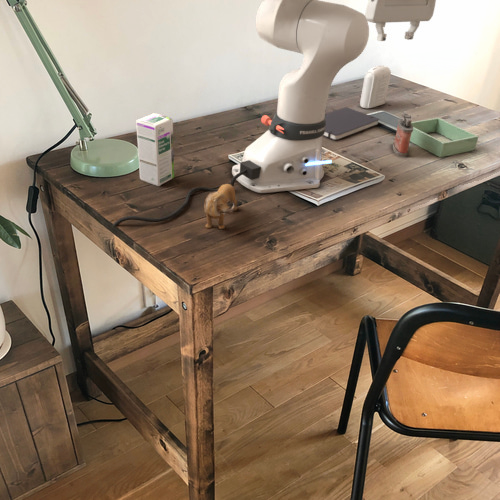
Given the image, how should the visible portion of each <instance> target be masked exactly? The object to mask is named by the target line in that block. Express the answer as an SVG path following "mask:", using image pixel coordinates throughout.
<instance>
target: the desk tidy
mask: <svg viewBox="0 0 500 500" xmlns="http://www.w3.org/2000/svg"><path fill="white" fill-rule="evenodd" d="M411 124H412V126H413V132H412V133H411V138H410V142H411V143H413V144H414V145H416V146H417V147H419V148H421V149H424V150H426V151H427V152H429V153H431V154H433V155H434V156H437V157H438V158H444V157H448V156H453V155H458V154H462V153H463V154H464V153H467V152H472V151H475V150H476V147H477V144H478V140H479V136H478V135H477V134H474V133H472V132H470V131H468V130H466V129H464V128H462V127H459V126H457V125H455V124H453V123H451V122H449V121H447V120H445V119H443V118H441V117H434V118H428V119H421V120H416V121H411ZM434 132H435V133H437V134H439V135H441V136H443V137H445V138H447V139H449V140H450V141H449V140H448V141H442V140H440V139H438V138H436V137H434V136H432V135H430V134H428V133H434ZM410 142H409V143H410Z"/></svg>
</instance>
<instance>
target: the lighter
mask: <svg viewBox="0 0 500 500" xmlns="http://www.w3.org/2000/svg"><path fill="white" fill-rule="evenodd" d="M401 117H402V118H398V119H397V127H396V132H395V135H394V141H393V143H392V150H393V152H394V153H395V154H396V156H397V157H401V158H406V157H408V155H409V146H410V138H411V133H412V132H413V126H412V124H411V122H413V120H412V115H410V114H409V113H408V112H407V111H402V114H401Z"/></svg>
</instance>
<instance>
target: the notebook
mask: <svg viewBox="0 0 500 500" xmlns="http://www.w3.org/2000/svg"><path fill="white" fill-rule="evenodd" d="M325 117H326V127H325V133H324V135H323V137H325V138H328V139H330V140H333V141H338V140H341V139H344V138H346V137H349V136H352V135H354V134H357V133H360V132H362V131H365V130H367V129H371V128H373V127H376V126H378V125H379V121H380V118H378V117H375V116H373V115H371V114H370V115H369V114H366V113H364V112H361V111H359V110H356V109H353V108H350V107H347V106H345V107H342V108H339V109H335V110H333V111H330V112H328V113H325Z"/></svg>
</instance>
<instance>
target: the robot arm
mask: <svg viewBox="0 0 500 500" xmlns="http://www.w3.org/2000/svg"><path fill="white" fill-rule="evenodd" d="M436 1H437V0H368V1H367V4H366V8H365V12H364V13H362V12H360V11H358V10H357V9H354V8H352V7H349V6H348V5H345V4H340V3H334V2H331V1H330V2H329V1H323V0H262V1H261V3H260V5H259V7H258V9H257V12H256V15H255V27H256V31H257V34H258V37H259V38H260V39H261V40H262V41H264V42H266V43H268V44H270V45H271V46H273V47H276V48H278V49H281V50H284V51H285V50H286V51H289V52H294V53H298V54H302V55H303V61H302V65H301V67H299V68H296V69H293V70H291V71H289V72H288V73H286V74H285V75H284V76H283V77H282V79H281V80H280V82H279V86H278V96H277V98H278V99H277V106H276V107H277V108H276V111H275V113H274V116H273V117H272V118H271V117H269V116H268V115H267V114H264V115H262V117H261V119H260V122H261V123H262V124H263V125H264V126H267V127H268V129H267V130H266V131H265V132H264V133H262V135H260V136H259V137H258V138H257V139H255V140H254V141H253V142H252V143H250V144H249V145H248V146H247V147H246V148H245V149H244V153H243V156H242V159H241V161H240V162H239V163H238V164H235V165H232V169H231V174H232V178H231V180H230V184H231V185H232V186H233V187H234V186H235V182H238V183H239V184H240V185H242V186H243V187H244V188H246V189H248V190H250V191H252V192H255V193H258V194H269V193H278V192H288V191H298V190H309V189H316V188H319V187H320V183H321V180H322V179H323V178H324V177H325V171H324V166H323V165H326V164H332V159H327V160H323V139H324V138H323V137H324V136H323V135H324V133H325V127H326V117H325V114H326V111H327V104H328V99H329V95H330V91H331V87H332V84H333V82H334V79H336V76H337V75H338V73H339V72H340V71H341V69H343V68H344V67H345V66H346V65H348V64H349V63H351V62H353V61H355V60H356V59H357V58H358V57H360V56H361V54H363V52H364V51H365V49H366V47H367V44H368V42H369V38H370V26H369V23H373V24H374V25H375V29H376V32H377V36H376V40H377V41H378V42H385V41H386V40H387V36H388V35H387V33H385V29H384V28H386V23H387V24H389V23H409V25H410V26H409V28H408V30H407V31H405V32H404V39H405V40H408V41H409V40H413V39H414V36H415V33H416V31H417V30H418V29H419V27H420V23H421V22H429V21H430V20H431V19H432V18H433V16H434V13H435V7H436V3H437V2H436ZM218 190H219V189H216V188H211V187H206V186H196V187H193V188H191V189H189V191H188V192H187V194H186V197H185V200H184V202H183V203H182V204H181V205H180V206H179V207H178V208H177V209H176V210H174V211H173V212H171V213H170V214H168V215H166V216H162V217H157V218H155V217H154V218H151V217H145V216H138V215H128V216H124V217H123V216H122V217H121V218H119V219H117V220H116V221H115V222H114V223H113V224H112V227H118V226H119V225H120V224H121V223H123V222H126V221H141V222H147V223H161V222H164V221H167V220H171V219H172V218H174V217H176V216H177V215H178V214H179V213H181V211H183V210H184V209H185V208H186V207H187V205H188V204H189V201H190V197H191V195H192V194H193V193H195V192H198V191H206V192H214V191H215V192H217V191H218Z"/></svg>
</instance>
